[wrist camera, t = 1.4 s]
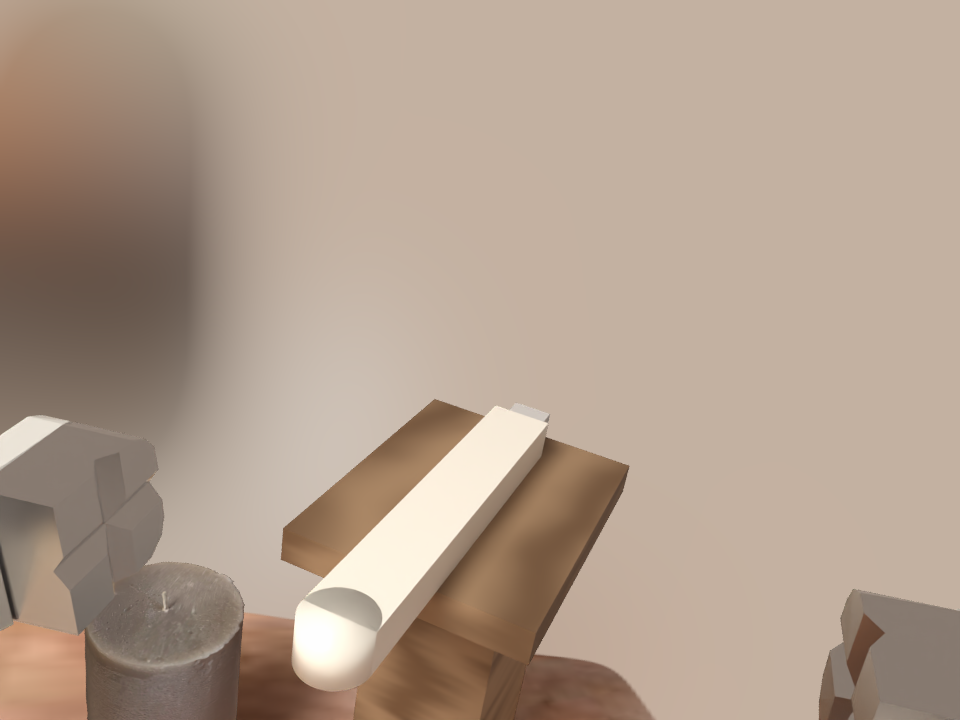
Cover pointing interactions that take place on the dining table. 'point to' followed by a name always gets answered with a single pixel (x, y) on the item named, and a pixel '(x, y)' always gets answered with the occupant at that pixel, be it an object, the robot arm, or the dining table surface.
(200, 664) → the pillar candle
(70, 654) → the dining table surface
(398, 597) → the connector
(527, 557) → the stand
